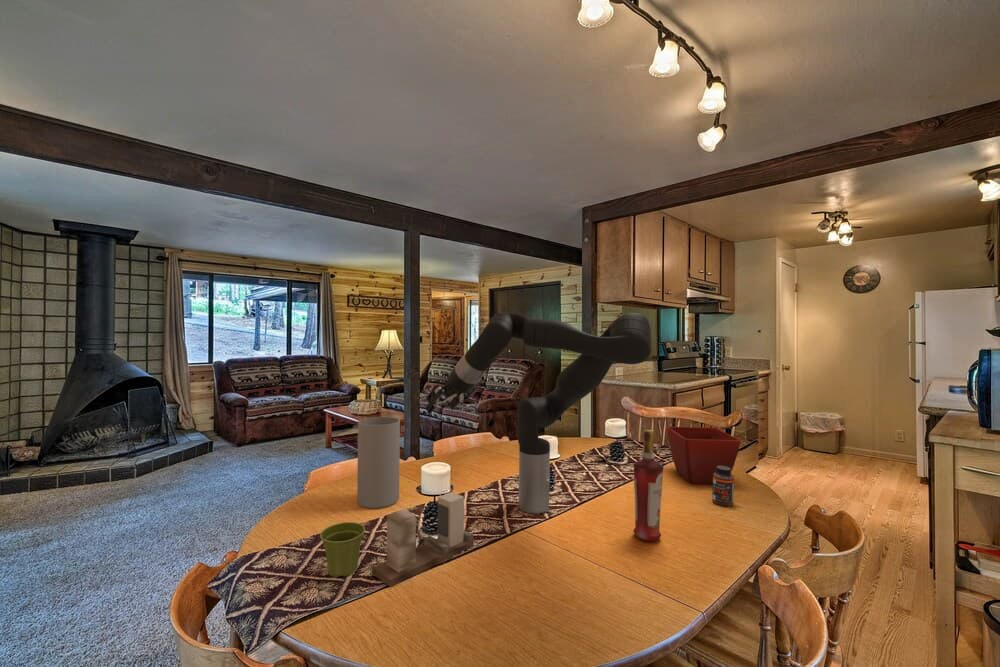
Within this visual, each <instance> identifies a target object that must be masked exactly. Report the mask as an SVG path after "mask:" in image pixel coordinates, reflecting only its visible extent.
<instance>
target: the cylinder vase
mask: <svg viewBox="0 0 1000 667" xmlns="http://www.w3.org/2000/svg"><path fill="white" fill-rule="evenodd" d="M400 422H401V419H400V418H398V417H393V416H373V417H366V418H362V419H359V420H358V421H357V474H356V475H357V478H356V479H357V483H356V484H357V486H356V487H357V489H356V490H357V491H356V493H357V495H356V497H357V498H356V500H357V504H358V505H359V506H361V507H362V508H366V509H383V508H388V507H390V506H393V505H394V504H396V503H397V502H398V501H399V498H400V463H401V462H400V457H401V456H400V453H401V452H400V451H401V450H400V448H401V447H400V446H401V442H400V440H401V439H400V436H401V435H400V434H401V423H400Z"/></svg>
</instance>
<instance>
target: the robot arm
mask: <svg viewBox="0 0 1000 667" xmlns="http://www.w3.org/2000/svg"><path fill="white" fill-rule="evenodd" d="M651 335H652V330H651V325H650V322H649V319H648V318H647V317H646V315H645V316H644V315H643V314H642V313H639V312H628V313H624V314H622V315H619V317H617V318H616V319H614V321H612V322H611V323H610V324H609V325H608V326H607V328H606V329H605V331H604V332H602V334H601V335H600V336H598V335H593V334H590V333H587V332H585V331H582V330H580V329H579V328H576V327H574V326H573V325H571V324H570V323H567V322H565V321H562V320H558V319H546V318H545V319H544V318H531V317H528V316H525V315H521V314H518V313H515V312H509V311H506V312H504V311H503V312H497V313H495V314H494V315H493V316H492V317H491V318H490V319H489V321H488V322H487V323H486V326H485V327H484V328H483V330H482V331H481V333H480V334H479V336H478V338H477V339H476V340H475V341H474V342H473V343H472V345H471V346H470V347H469V349H468V350H467V351H466V353H465V354H463V356H462V357H461V358H460V359H459V361H458V362H456V363H457V364H455V366H454V368H453V369H452V370H451V371H450V373H449V374H448V376H447V377H448V378H447V382H446V383H445V384H444V385H443V386H440V385H439V384H436V385H435V386H434V387H433V388H432V389H431V391H430V392H429V394H427V395H426V397H425V399H426V402H428V403H427V405H426V406H425V409H426V412H427V414H428V415H429V414H432V413H433V411H434V410H436V408H437V406H438V405H439V404H441V403H442V404H444V403H446V402H447V401H449V400H450V399H451V400H450V402H449V403H448V407H449V408H450V409H451V410H455V409H456V408H457V407H458V406H459V404H461V403H463V402H464V401H468V400H469V399H470V397H471V396H472V395H473V393H474V392H475V391H476V389H477V387H476V385H477V384H478V383H479V382H480V380H481V379H482V378H483V376H484V375H485V373H486V371H487V370H488V368H489V367H490V366H491V365H492V364H493V362H494V361H495V359H496V358H497V357H498V356H499V355H500V354H501V353H502V352H503V351H504V350H505V348H506V347H508V345H509V343H511V340H512V339H519V340H522V341H523V344H524V345H526V346H528V347H531V348H532V347H533V348H542V349H543V348H544V349H552V350H553V349H554V350H555V349H556V350H563V351H569V352H573V353H578V354H580V355H579V356H578V357H577V358H576V359H574V360H573V361H571V362H570V364H568V365H567V366H566V367H565V368H564V369H563V370H561V371H560V373H559V374H558V376H557V378H556V381H555V382H556V383H555V388H554V389H553V390H552V391H550V392H549V393H547V394H546V395H544V396H539V397H529V398H528V397H527V398H522V399H521V400H520V401H519V402H518V405H517V408H516V428H517V431H516V432H517V441H518V445H519V446H518V447H519V450H518V452H519V453H518V457H519V458H518V461H519V462H518V464H519V465H518V508H519V510H520V511H522V512H525V513H527V514H543V513H550V485H551V484H550V478H551V477H550V473H551V472H550V465H551V464H550V462H551V453H550V452H551V443H550V441H549V440H547V439H545V438H542V437H539V435H538V429H544V428H547V427H551V425H553V424H554V423H556V421H558V419H559V418H560V417H562V415H563V414H564V413H565V412H567V410H568V409H570V408H571V407H572V406H574V405H576V403H578V402H579V401H580V400H582V399H583V398H585V397H587V396H588V395H589V394H590V393H591V392H593V391H594V390H595V389H596V388H598V386H599V385H600V384H601V383H602V382H603V380H604V378H605V377H606V376H607V373H608V372H609V370H610V369H611V367H612V365H614V363H620V364H625V365H638V364H641V363H643V362H645V361H647V360H648V359H649V357H650V356H651V352H652V336H651ZM443 396H444V398H443Z"/></svg>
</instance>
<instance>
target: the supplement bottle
mask: <svg viewBox="0 0 1000 667" xmlns="http://www.w3.org/2000/svg"><path fill="white" fill-rule="evenodd" d="M734 488H735V477H734V475H733V474H732V471H731V468H729V467H726V466H717V472H715V473H714V474H713V484H712V496H711V498H712V502H713V503H714V504H716V505H718V506H722V507H731V506H732V505H734Z"/></svg>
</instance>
